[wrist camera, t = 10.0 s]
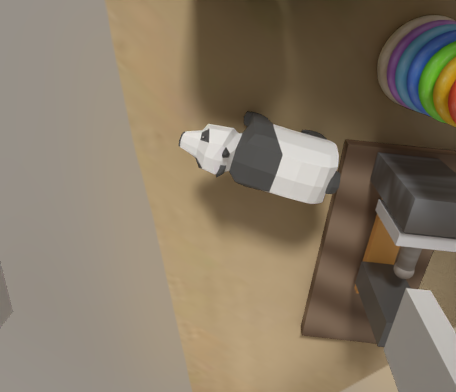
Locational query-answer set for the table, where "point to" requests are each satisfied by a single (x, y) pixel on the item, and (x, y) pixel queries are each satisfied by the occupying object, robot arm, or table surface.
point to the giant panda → (268, 158)
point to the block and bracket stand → (388, 269)
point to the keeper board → (363, 223)
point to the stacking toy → (422, 67)
